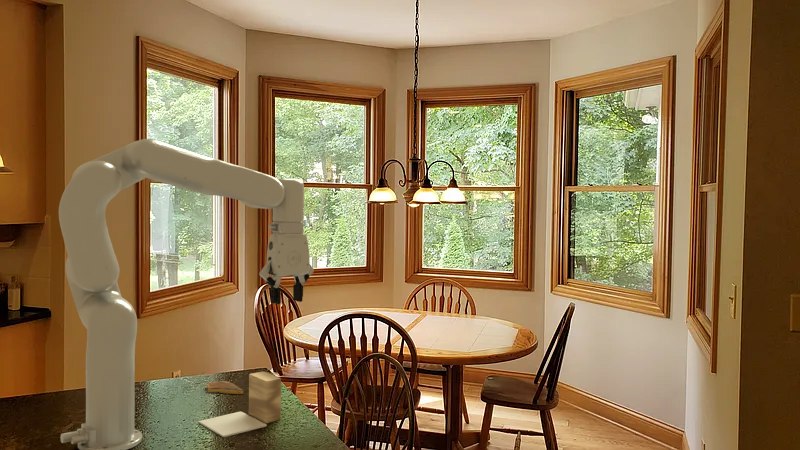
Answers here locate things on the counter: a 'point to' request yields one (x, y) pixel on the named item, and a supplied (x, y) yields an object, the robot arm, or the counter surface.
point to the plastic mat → (232, 424)
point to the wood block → (265, 396)
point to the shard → (224, 387)
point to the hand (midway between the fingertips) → (287, 301)
